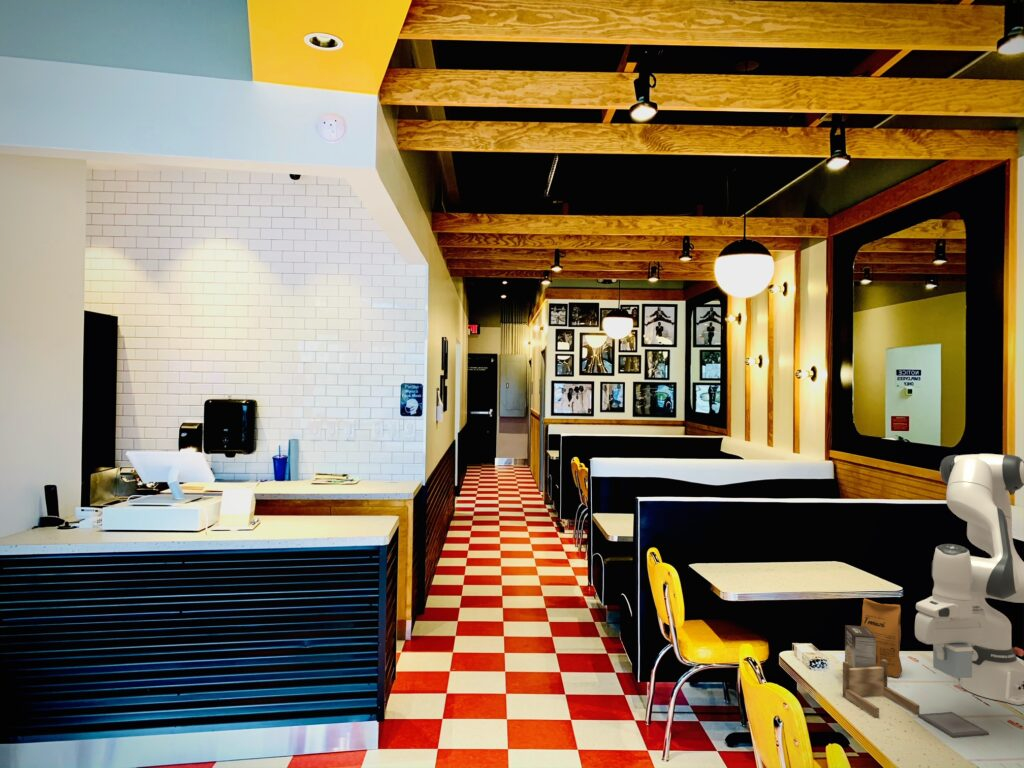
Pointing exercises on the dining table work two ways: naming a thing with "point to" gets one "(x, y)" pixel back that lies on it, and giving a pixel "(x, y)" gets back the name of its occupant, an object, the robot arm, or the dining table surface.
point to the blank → (955, 660)
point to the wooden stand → (871, 688)
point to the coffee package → (884, 633)
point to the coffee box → (860, 647)
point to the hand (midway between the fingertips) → (952, 658)
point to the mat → (953, 724)
